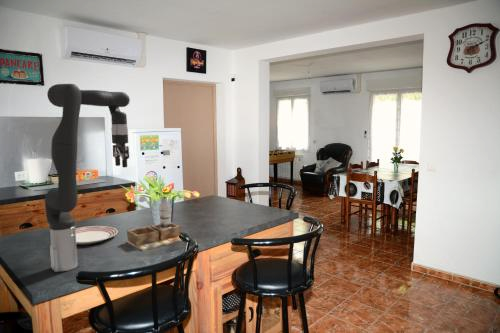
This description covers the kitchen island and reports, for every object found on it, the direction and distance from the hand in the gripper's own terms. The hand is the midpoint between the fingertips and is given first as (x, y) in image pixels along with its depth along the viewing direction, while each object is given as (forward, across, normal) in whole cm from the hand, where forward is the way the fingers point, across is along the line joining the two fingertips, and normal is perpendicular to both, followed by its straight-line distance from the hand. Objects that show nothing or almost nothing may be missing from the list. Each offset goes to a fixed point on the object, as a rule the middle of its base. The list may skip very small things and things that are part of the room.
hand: (121, 166), depth 176 cm
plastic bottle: (+37, +9, +18) cm, 42 cm away
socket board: (+38, +11, +12) cm, 41 cm away
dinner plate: (+39, -16, -12) cm, 43 cm away
